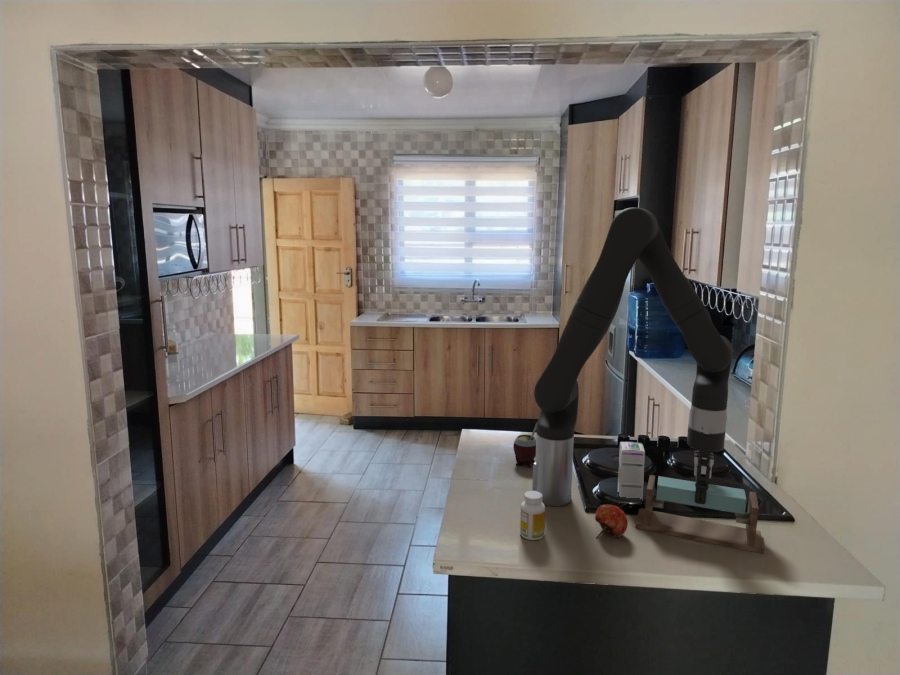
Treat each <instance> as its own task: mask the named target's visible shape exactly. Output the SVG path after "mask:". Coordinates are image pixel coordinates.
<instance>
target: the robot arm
mask: <svg viewBox="0 0 900 675" xmlns="http://www.w3.org/2000/svg"><path fill="white" fill-rule="evenodd" d="M607 232H608V233H607V235H606V238H605V241H604V243H603V247H602V250H601V252H600V255H599V257H598V260H597V261H596V264H595V266H594V268H593V270H592V271H591V273H590V275H589V277H588V278H587V280H586V281H585V284H584V286H583V287H582V290H581V291H580V293H579V296H578V297H577V299H576V301H575V304H574V305H573V308H572V310H571V312H570V315H569V316H568V320H567V321H566V324H565V326H564V329H563V330H562V333H561V336H560V338H559V340H558V344H557V346H556V349H555V351H554V354H553V355H552V357H551V359H550V361H549V362H548V364H547V366H546V367H545V369H544V370H543V372H542V373H541V375H540V377H539V378H538V380H537V382H536V383H535V385H534V390H533V397H534V401H535V404H537V406H538V408H540V409H541V410H540V415H539V417H538V420H537V422H536V423H537V428H536V435H535V436H536V437H535V439H536V456H535V462H534V463H532V464H533V465H532V486H531V489H532V490H531V491H538V492H540V493H541V494H542V503H543V504H544V505H546V506H550V507H551V506H552V507H561V506H565V505H567V504H569V503H570V502H571V499H572V484H573V466H574V465H573V463H574V461H573V460H574V441H575V440H574V439H575V438H574V437H575V429H576V428H575V427H576V424H577V421H578V411H579V410H578V409H579V397H580V396H579V395H580V388H579V382H578V380H577V379H578V378H579V375H580V374H581V371H582V369H583V367H584V366H585V364H586V363H587V362H588V361H589V358H590V357H591V356H592V355H593V353H594V352H595V351H596V350H597V348H598V346H599V345H600V343H601V342H602V340H603V339H604V337H605V336H606V334H607V332H608V330H609V329H610V327H611V325H612V323H613V321H614V318H615V316H616V314H617V312H618V309H619V307H620V303H621V301H622V297H623V293H624V289H625V286H626V283H627V279H628V276H629V274H630V272H631V270H632V269H633V267H634V266H635V264H636V262H637V261H638V260H639V262H640V263H641V264H642V266H643V267H644V269H645V270H646V272H647V274H648V275H649V277H650V279H651V281H652V283H653V286H654V287H655V290H656V292H657V294H658V297H659V299H660V301H661V303H662V305H663V308H664V309H665V310H666V312H667V313H668V315H669V316H670V318H671V320H672V321H673V323H674V324H675V326H676V328H677V329H678V330H679V331H680V333H681V335H682V337H683V339H684V341H685V344H686V346H687V348H688V350H689V352H690V354H691V356H692V357H693V359H694V360H695V362H696V374H695V375H696V376H695V380H694V383H693V386H692V396H691V403H690V404H691V405H690V410H689V414H688V415H689V416H688V424H687V425H688V426H687V427H688V428H687V435H686V436H687V437H686V443H687V445H688V446H689V447H691V448H692V449H693V450H694V449H695V450H694V456H693V463H694V466H693V467H694V469H693V470H694V471H693V475H694V477H695V482H696V483H695V486H696V491H695V503H698V504H705V503H706V493H707V490H708V489H709V485H708V484H710V483H709V482H710V479H711V478H712V470H713V469H712V468H713V466H714V462H715V457H714V455H715V454H714V452H721V451H722V450H723V449H724V448H725V440H726V433H727V432H726V430H727V421H728V413H727V408H728V401H729V399H728V398H729V377H730V373H731V366H732V361H733V360H732V359H733V354H734V352H733V351H734V349H733V345H732V343H731V341H730V340H729V339H728V338H727V337H726V336H723V335H721V334H720V333H719V331H718V329H717V328H716V326H715V325H714V323H713V321H712V316H711V315H710V311H709V310H708V309H707V307H706V306H705V304H704V303H703V301H702V299H701V298H700V296H699V295H698V293H697V291H696V290H695V289H694V287H693V285H692V284H691V282H690V281H689V280H688V278H687V277H686V275H685V273H684V272H683V271H682V268H680V267H679V265H678V263H677V261H676V259H675V258H674V255H673V254H672V252H671V251H670V249H669V247H668V244H667V242H666V240H665V238H664V235H663V233H662V230H661V228H660V226H659V223H658V219H657V218H656V216H655V214H654V213H653V212H651V211H650V210H648V209H646V208H642V207H637V206H636V207H633V206H632V207H628V208H624V209H623V210H621V211H619V212H618V213H617V214H616V215H615V217H614V218H613V219H612V221H611V224H610V226H609V229H608V231H607Z"/></svg>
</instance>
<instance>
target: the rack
mask: <svg viewBox="0 0 900 675" xmlns="http://www.w3.org/2000/svg"><path fill="white" fill-rule="evenodd" d="M647 482H648V483H647V485H646V492H645V493H646V496H645V505H644V506H645V508H639V509H638V512H637V517H636V521H635V528H636V529H640V530H645V531H650V532H654V533H655V532H656V533H661V534H665V535H670V536H676V537H679V538H680V537H681V538H685V539H689V540H694V541H699V542H704V543H708V544H714V545H718V546H719V545H721V546H723V547H729V548H733V549H737V550H738V549H739V550H743V551H748V552H754V553H758V554H764V553H765V552H764V550H765V548H764V543H763V538H762V532H761V530H757V525H758V518H759V511H760V510H759V509H760V508H759V503H758V496H757V493H756V491H755V492H754V491H749V493H748V494H749V495H748V504H747V512H746V511H745V514H739V513H734V514H735V517H736V518H735V523H737V524H741V525H742V524H743V525H745V527H742V526H741V527H739V526H736V525H732V524H731V525H729V524H726V523H725V524H724V523H719V522H716V521H715V522H714V521H708V520H705V519H704V520H703V519H699V518H692V517H688V516H683V515H678V514H672V513H667V512H662V511H657V510H653V508H656V509H664V505H665V504H664V503H665V501H663V500H657V499H656V497H657V495H655V483H656V475H654V474H649V478H648V481H647Z"/></svg>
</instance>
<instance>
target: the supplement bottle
mask: <svg viewBox="0 0 900 675" xmlns="http://www.w3.org/2000/svg"><path fill="white" fill-rule="evenodd" d="M545 523H546V506H545V504H543V503H542V494H541V493H540V492H538V491H532V490H528V491H525V493H524V496H523V501H522V502H521V504H520V521H519V524H520V526H519V528H520V529H519V530H520V531H519V533H520V535H521V537H523V538H524V539H526V540H528V541H537V540H541V539H543V537H544V536H545Z"/></svg>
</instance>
